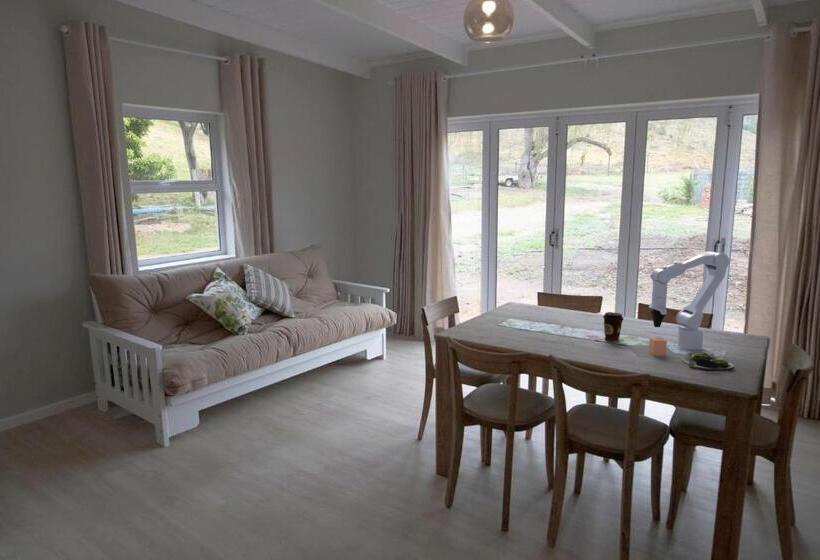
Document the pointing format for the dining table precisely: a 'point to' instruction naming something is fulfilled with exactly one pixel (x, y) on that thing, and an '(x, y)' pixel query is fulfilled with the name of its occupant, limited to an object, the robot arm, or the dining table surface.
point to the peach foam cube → (657, 346)
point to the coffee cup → (612, 326)
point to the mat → (644, 351)
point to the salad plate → (707, 362)
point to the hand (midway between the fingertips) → (657, 326)
